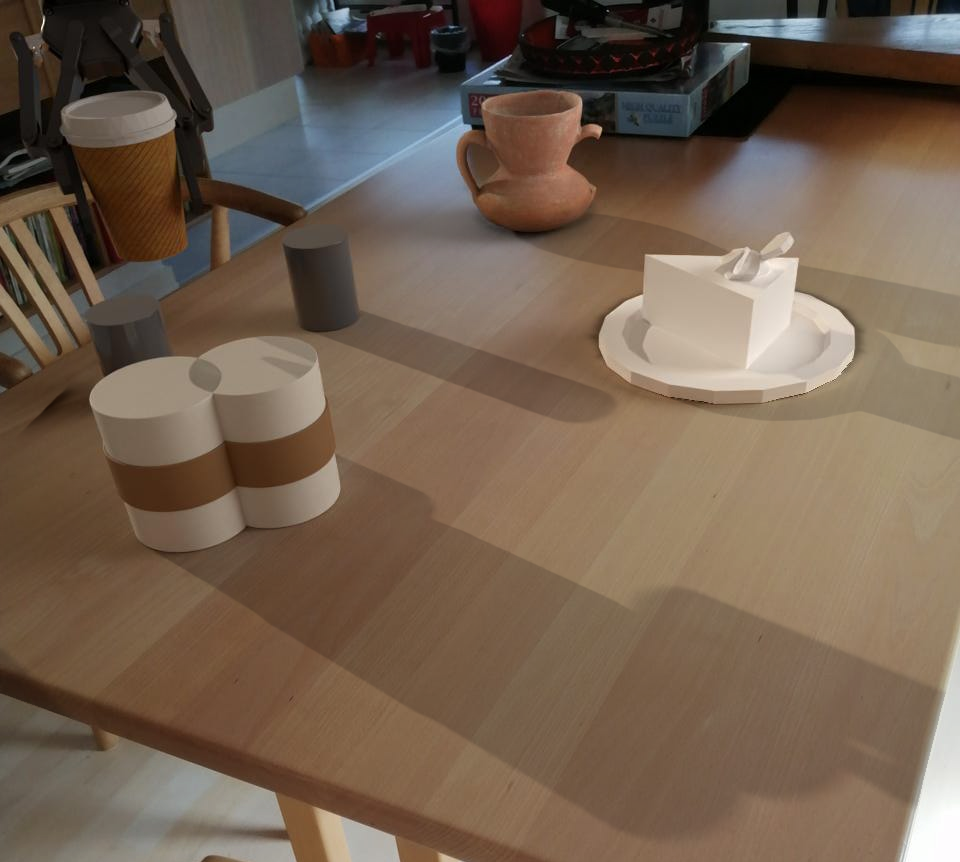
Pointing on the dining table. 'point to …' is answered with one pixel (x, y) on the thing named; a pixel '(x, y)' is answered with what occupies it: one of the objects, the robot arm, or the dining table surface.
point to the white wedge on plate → (726, 329)
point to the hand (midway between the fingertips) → (144, 216)
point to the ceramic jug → (530, 160)
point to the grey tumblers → (314, 284)
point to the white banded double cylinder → (219, 441)
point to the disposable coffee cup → (131, 170)
